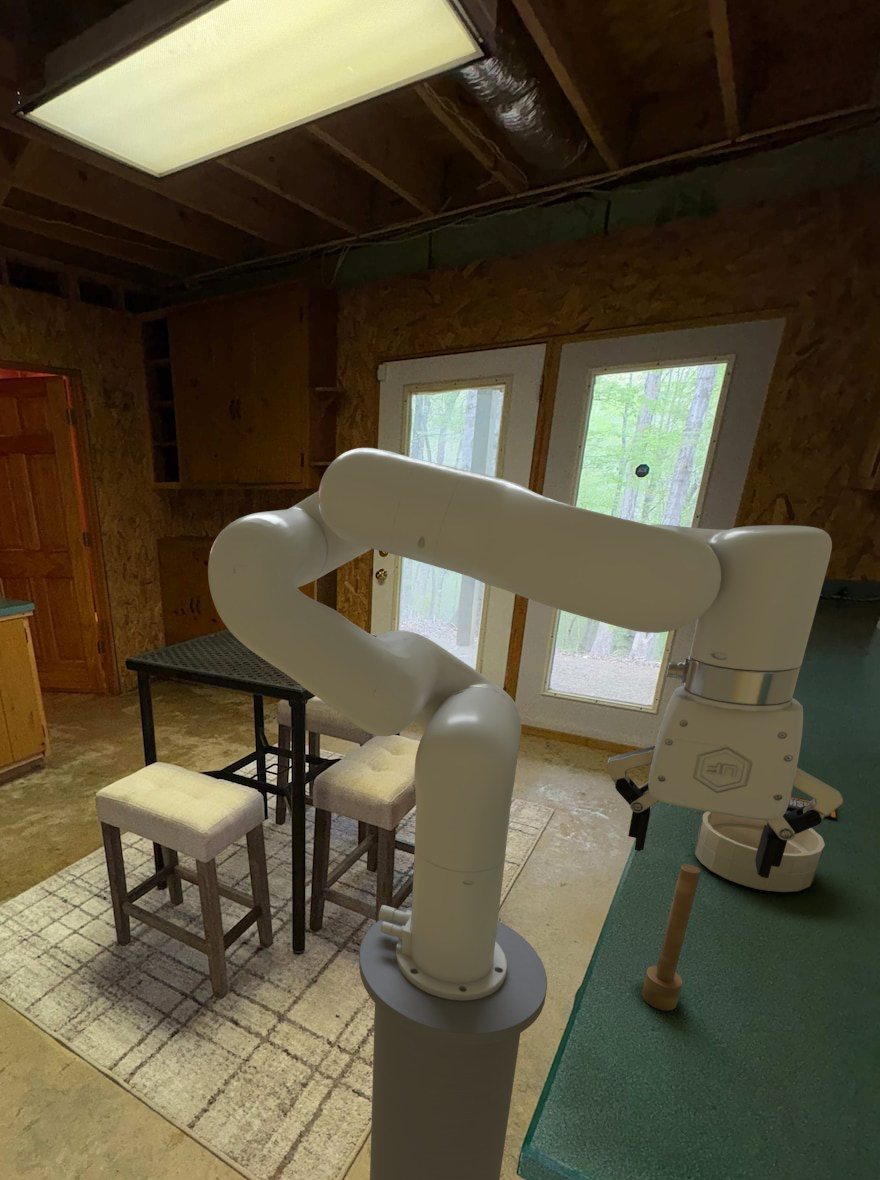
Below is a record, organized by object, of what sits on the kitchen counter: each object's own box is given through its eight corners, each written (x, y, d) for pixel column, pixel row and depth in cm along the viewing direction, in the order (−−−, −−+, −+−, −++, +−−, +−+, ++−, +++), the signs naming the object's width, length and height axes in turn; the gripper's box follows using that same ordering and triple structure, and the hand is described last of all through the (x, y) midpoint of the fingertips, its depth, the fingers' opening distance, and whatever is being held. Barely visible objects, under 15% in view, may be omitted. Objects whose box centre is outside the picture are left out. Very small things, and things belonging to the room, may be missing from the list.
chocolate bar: (834, 807, 100) (835, 803, 100) (835, 819, 97) (836, 815, 96) (750, 790, 106) (751, 786, 106) (748, 801, 103) (749, 797, 103)
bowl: (694, 878, 84) (704, 839, 82) (693, 833, 94) (701, 798, 92) (819, 907, 78) (833, 866, 75) (803, 856, 88) (815, 818, 86)
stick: (640, 1003, 64) (671, 872, 58) (642, 983, 67) (671, 856, 61) (676, 1015, 63) (711, 881, 57) (676, 994, 65) (710, 864, 59)
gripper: (618, 681, 53) (591, 853, 60) (887, 707, 45) (823, 904, 51) (625, 661, 59) (599, 819, 66) (864, 680, 51) (808, 860, 57)
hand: (697, 856), depth 58 cm, fingers open, 9 cm apart
